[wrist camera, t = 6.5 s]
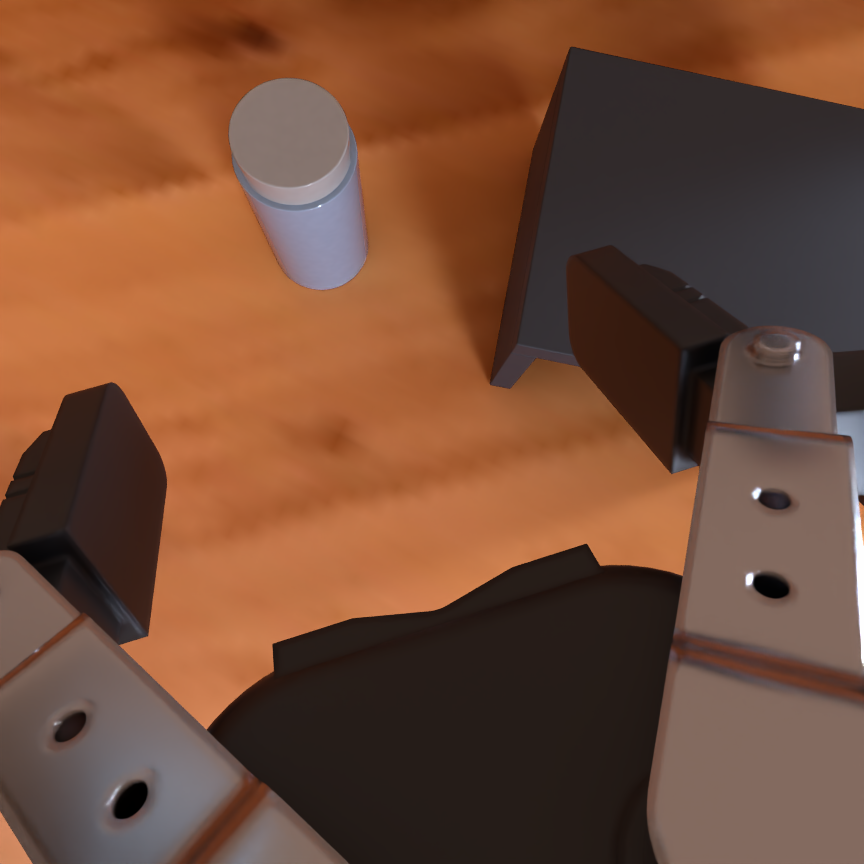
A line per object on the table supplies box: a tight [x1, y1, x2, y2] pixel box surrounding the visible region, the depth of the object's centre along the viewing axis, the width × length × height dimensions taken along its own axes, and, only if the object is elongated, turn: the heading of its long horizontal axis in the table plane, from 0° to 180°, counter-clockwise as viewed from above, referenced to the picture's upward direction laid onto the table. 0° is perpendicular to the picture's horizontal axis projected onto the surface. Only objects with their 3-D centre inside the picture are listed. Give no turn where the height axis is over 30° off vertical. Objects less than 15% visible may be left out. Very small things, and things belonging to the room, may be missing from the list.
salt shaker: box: [228, 78, 368, 290], centre depth 26 cm, size 4×4×9 cm
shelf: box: [490, 47, 864, 389], centre depth 27 cm, size 12×14×7 cm
